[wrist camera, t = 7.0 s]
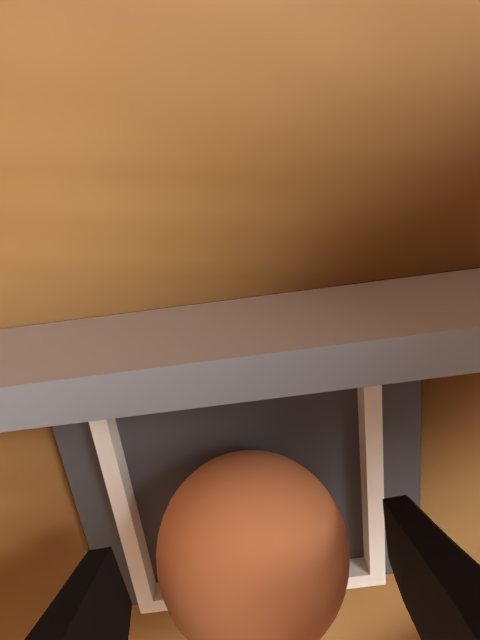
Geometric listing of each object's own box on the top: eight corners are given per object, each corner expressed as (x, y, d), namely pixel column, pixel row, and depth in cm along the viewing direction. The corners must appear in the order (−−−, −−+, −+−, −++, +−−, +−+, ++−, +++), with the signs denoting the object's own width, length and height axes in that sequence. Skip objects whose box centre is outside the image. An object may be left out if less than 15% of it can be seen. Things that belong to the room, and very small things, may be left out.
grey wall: (506, 264, 12) (629, 307, 9) (503, 298, 13) (620, 354, 9) (-59, 336, 13) (-181, 410, 9) (-47, 368, 13) (-160, 453, 9)
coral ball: (314, 401, 13) (366, 532, 8) (334, 530, 15) (386, 701, 10) (150, 432, 13) (111, 578, 9) (187, 557, 15) (172, 738, 10)
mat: (416, 326, 13) (433, 340, 12) (414, 560, 16) (427, 588, 15) (42, 373, 13) (27, 391, 12) (109, 597, 16) (101, 627, 15)
